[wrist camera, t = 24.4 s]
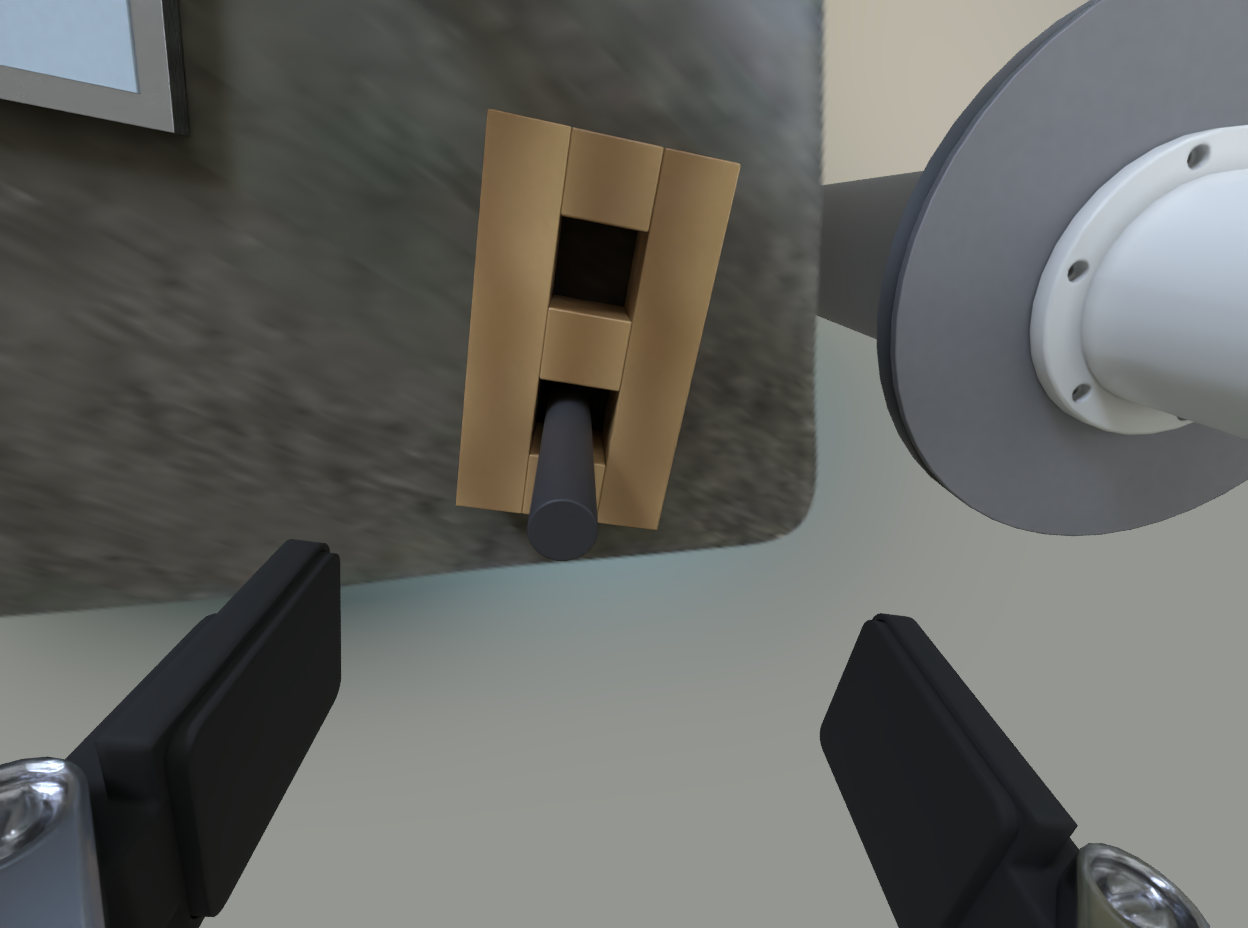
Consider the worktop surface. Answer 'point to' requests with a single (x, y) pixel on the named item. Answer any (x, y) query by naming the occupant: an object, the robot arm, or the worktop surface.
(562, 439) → the stylus
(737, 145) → the worktop surface
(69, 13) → the tablet
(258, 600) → the robot arm
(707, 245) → the holder
